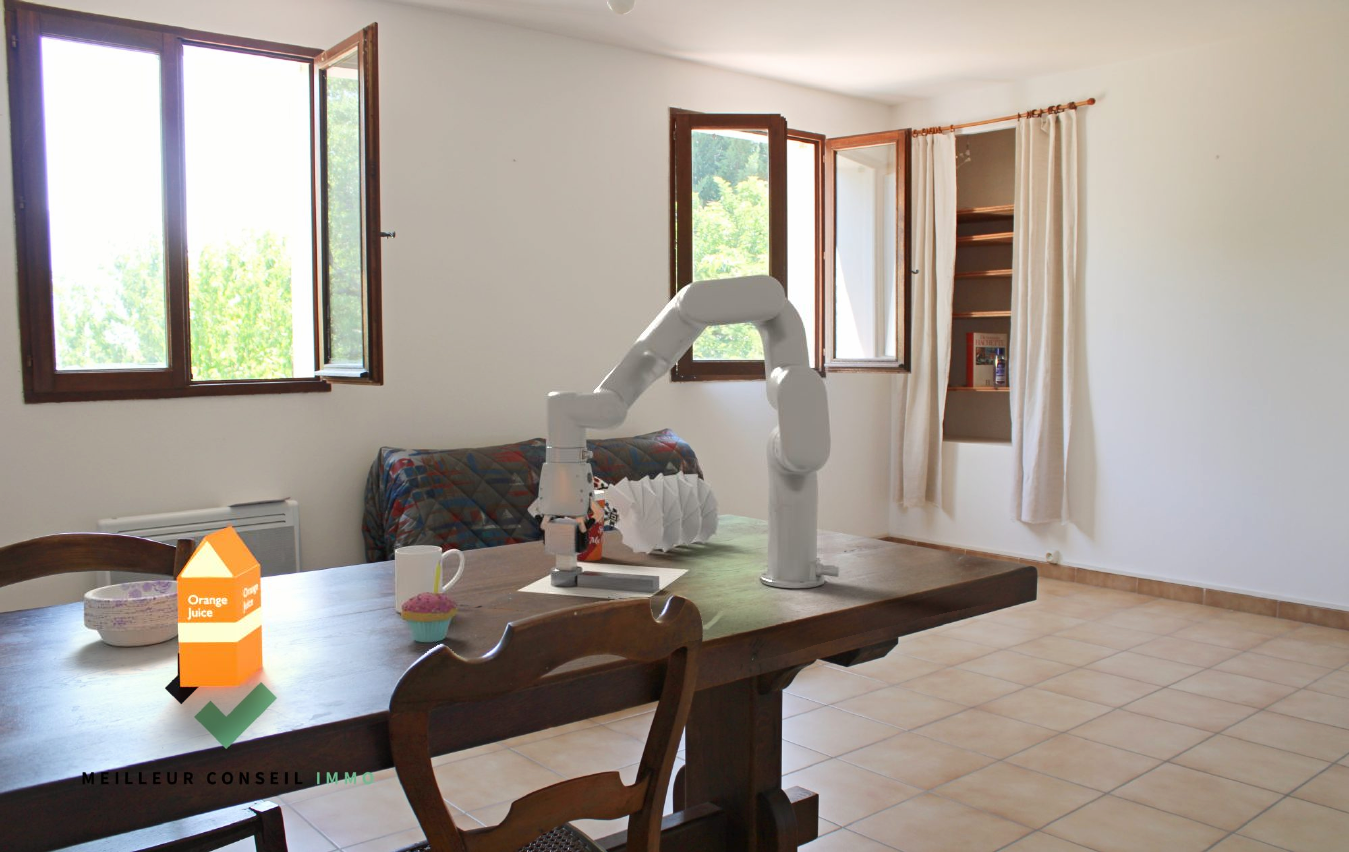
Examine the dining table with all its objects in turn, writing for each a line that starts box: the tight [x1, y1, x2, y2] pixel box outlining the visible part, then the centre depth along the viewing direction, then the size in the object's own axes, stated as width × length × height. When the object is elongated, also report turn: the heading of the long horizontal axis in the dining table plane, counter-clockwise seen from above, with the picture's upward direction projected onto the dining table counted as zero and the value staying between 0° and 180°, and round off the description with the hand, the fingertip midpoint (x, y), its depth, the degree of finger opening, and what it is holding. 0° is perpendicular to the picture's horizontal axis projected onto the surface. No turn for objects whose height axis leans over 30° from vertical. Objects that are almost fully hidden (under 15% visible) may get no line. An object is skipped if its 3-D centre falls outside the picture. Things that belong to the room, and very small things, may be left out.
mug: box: [394, 544, 466, 614], centre depth 174 cm, size 12×8×10 cm, turn 124°
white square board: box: [517, 561, 690, 600], centre depth 194 cm, size 25×28×1 cm
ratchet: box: [550, 555, 659, 593], centre depth 188 cm, size 21×6×7 cm, turn 73°
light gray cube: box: [544, 517, 587, 557], centre depth 190 cm, size 6×6×6 cm
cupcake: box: [400, 560, 458, 643], centre depth 155 cm, size 9×8×12 cm
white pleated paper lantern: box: [605, 470, 720, 555], centre depth 229 cm, size 18×18×25 cm
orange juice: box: [176, 525, 264, 688], centre depth 136 cm, size 8×9×20 cm
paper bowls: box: [83, 580, 179, 648], centre depth 154 cm, size 15×15×8 cm
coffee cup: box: [570, 489, 606, 562], centre depth 216 cm, size 8×8×15 cm
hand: (565, 549), depth 190 cm, fingers closed on light gray cube, 6 cm apart
